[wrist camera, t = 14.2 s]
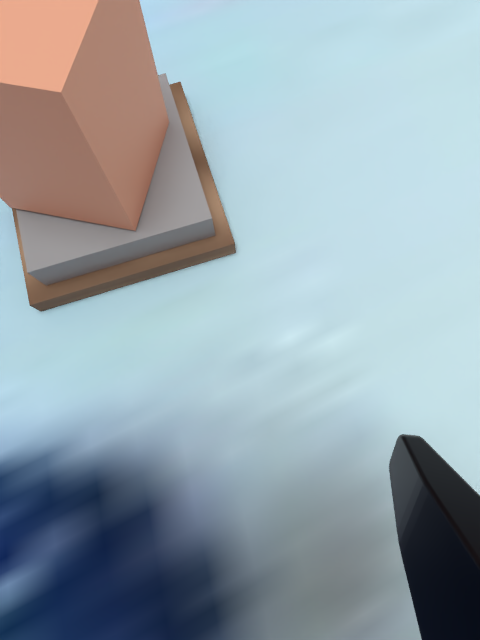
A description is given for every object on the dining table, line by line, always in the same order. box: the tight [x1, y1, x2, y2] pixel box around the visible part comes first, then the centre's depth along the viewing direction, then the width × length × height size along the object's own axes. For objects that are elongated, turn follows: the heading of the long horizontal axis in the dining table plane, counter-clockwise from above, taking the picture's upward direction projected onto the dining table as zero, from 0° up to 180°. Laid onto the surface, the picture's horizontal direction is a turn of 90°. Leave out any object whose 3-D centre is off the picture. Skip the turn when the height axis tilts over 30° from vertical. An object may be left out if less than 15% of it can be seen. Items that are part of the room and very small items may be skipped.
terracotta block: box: [0, 0, 169, 231], centre depth 19 cm, size 7×7×9 cm
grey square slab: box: [16, 73, 216, 285], centre depth 24 cm, size 10×10×2 cm
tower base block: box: [12, 82, 236, 311], centre depth 26 cm, size 12×12×2 cm
